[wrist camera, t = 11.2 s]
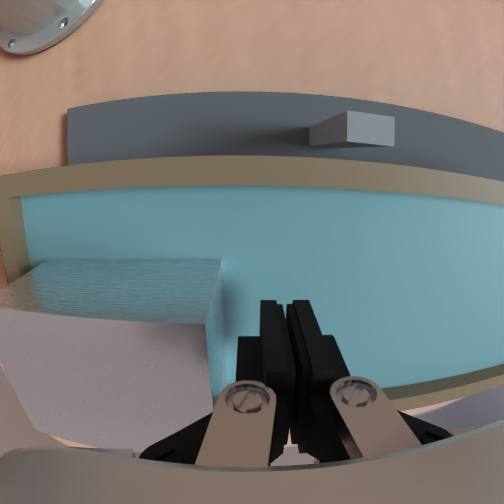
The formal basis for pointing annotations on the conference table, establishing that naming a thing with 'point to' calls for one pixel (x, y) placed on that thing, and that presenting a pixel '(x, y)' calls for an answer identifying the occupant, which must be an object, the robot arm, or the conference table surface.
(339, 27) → the conference table surface
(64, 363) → the steel block
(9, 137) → the conference table surface
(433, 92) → the conference table surface
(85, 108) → the stand
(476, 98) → the conference table surface
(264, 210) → the beam
